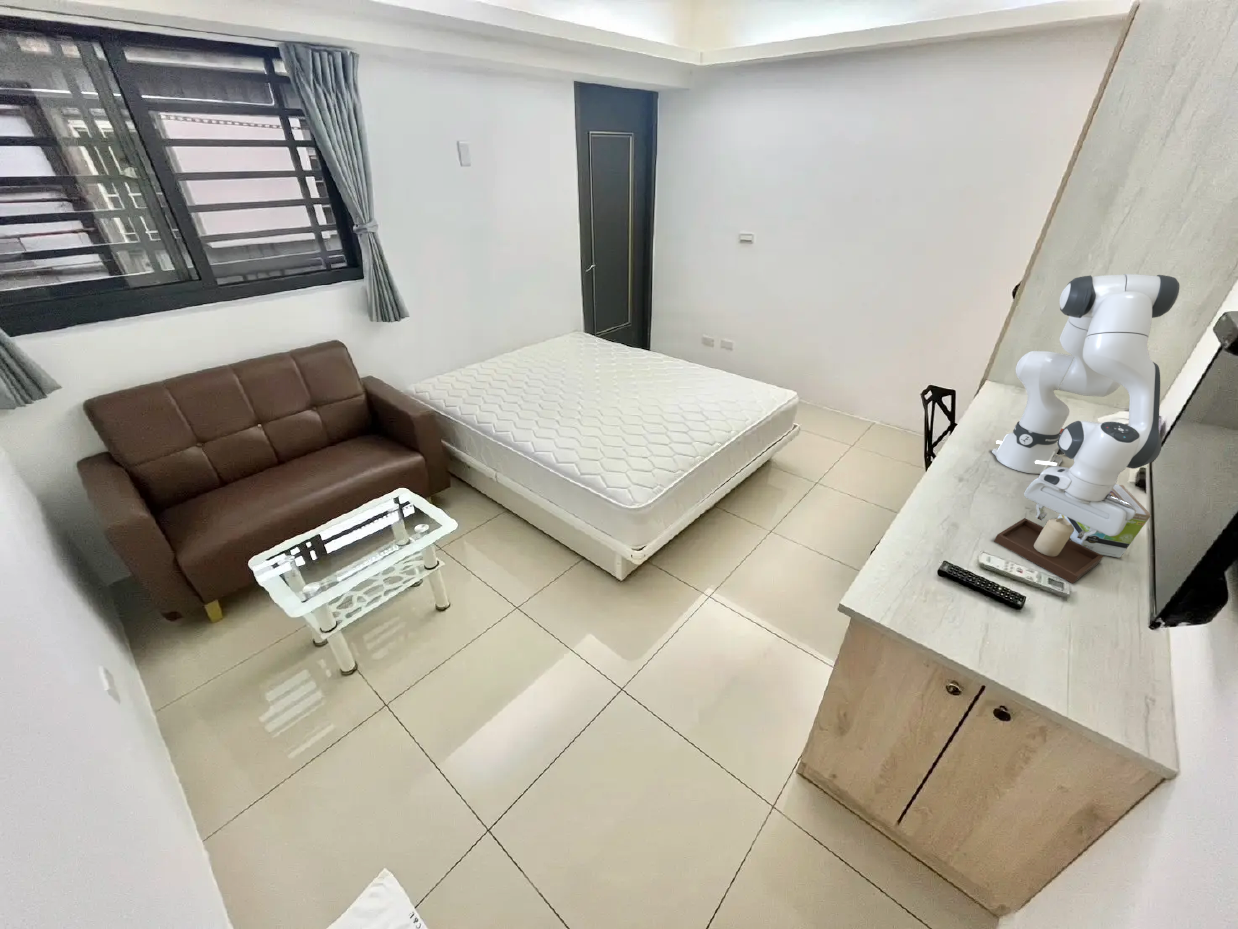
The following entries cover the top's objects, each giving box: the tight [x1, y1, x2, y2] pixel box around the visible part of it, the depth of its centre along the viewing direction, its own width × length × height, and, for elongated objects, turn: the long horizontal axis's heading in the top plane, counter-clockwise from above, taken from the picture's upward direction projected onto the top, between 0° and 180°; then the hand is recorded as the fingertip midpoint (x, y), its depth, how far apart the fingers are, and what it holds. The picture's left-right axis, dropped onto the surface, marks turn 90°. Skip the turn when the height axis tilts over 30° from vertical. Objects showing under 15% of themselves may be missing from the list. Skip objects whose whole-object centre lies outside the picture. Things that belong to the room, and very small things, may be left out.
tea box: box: [1057, 483, 1152, 559], centre depth 132 cm, size 15×10×15 cm, turn 160°
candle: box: [1034, 517, 1074, 556], centre depth 128 cm, size 6×6×10 cm
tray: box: [993, 517, 1104, 584], centre depth 131 cm, size 15×19×3 cm
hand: (1059, 528), depth 127 cm, fingers open, 8 cm apart
